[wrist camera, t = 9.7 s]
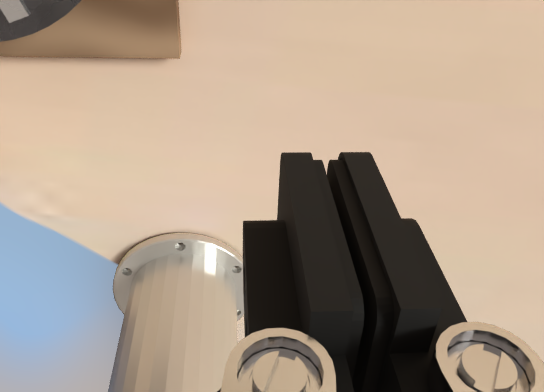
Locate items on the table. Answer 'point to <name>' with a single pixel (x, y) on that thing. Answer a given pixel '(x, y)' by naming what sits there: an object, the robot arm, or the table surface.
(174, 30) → the valve base
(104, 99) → the table surface
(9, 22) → the handwheel
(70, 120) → the table surface
